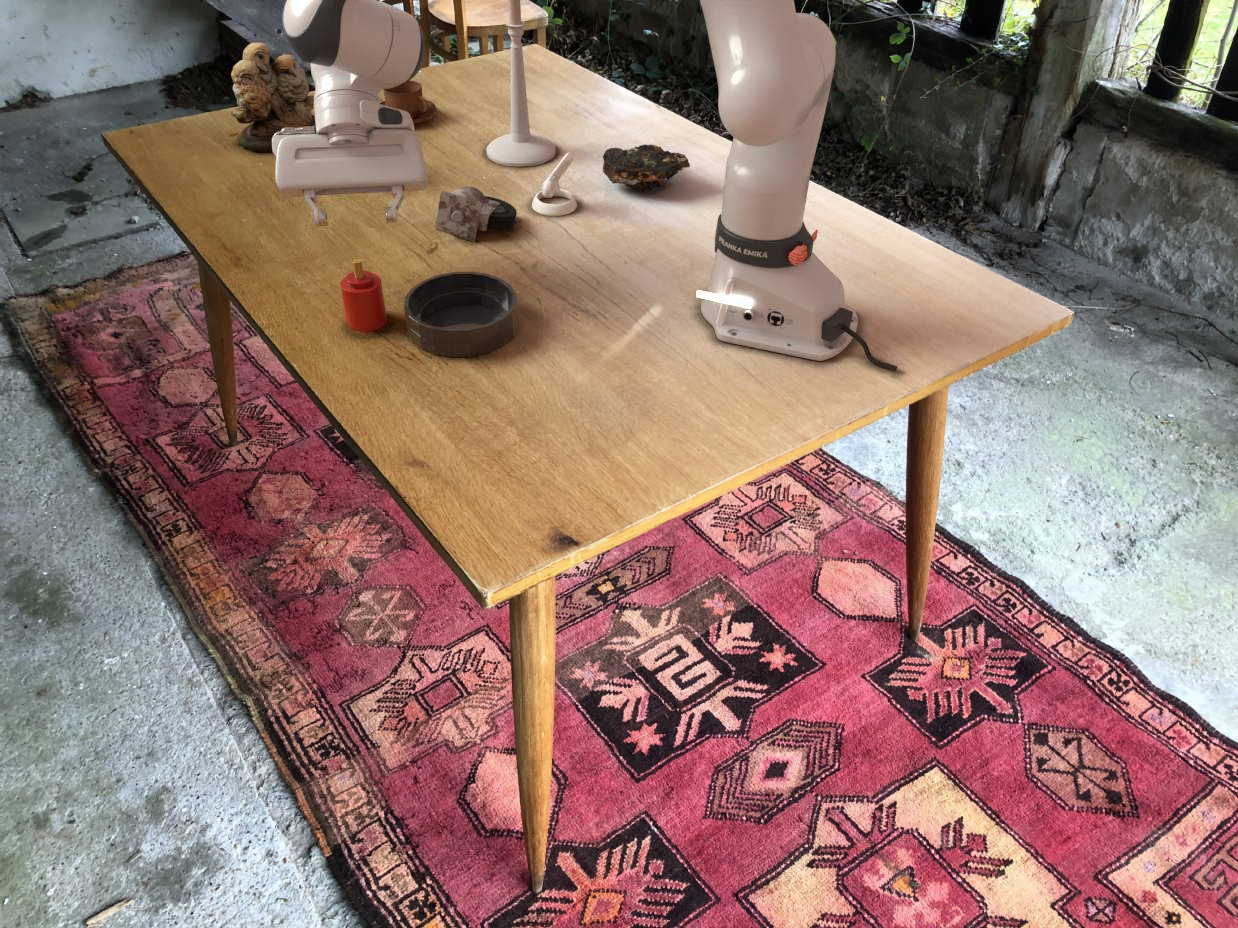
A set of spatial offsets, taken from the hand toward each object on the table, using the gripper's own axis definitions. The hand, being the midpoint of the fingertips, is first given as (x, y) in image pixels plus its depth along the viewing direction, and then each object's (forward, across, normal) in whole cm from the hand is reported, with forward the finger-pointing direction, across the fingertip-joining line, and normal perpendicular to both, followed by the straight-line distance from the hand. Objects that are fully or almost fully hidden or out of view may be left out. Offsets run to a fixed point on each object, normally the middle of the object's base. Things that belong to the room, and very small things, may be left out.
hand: (356, 223), depth 134 cm
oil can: (+13, 0, +4) cm, 14 cm away
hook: (-10, +30, +28) cm, 42 cm away
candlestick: (-26, +26, +44) cm, 57 cm away
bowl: (+15, +13, +2) cm, 20 cm away
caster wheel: (-6, +17, +24) cm, 30 cm away
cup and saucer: (-39, +5, +57) cm, 69 cm away
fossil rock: (-15, +47, +33) cm, 59 cm away
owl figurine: (-34, -18, +52) cm, 65 cm away
